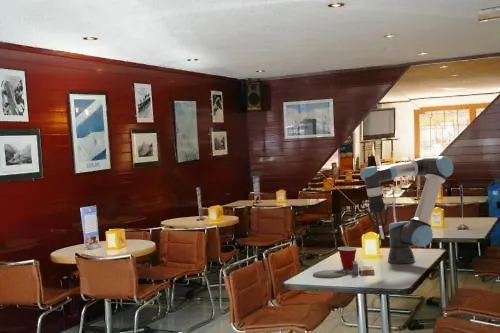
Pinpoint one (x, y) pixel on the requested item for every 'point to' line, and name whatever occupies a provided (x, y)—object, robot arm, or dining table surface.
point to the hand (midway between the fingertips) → (382, 238)
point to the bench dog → (355, 267)
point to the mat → (329, 274)
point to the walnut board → (366, 270)
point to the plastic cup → (347, 256)
